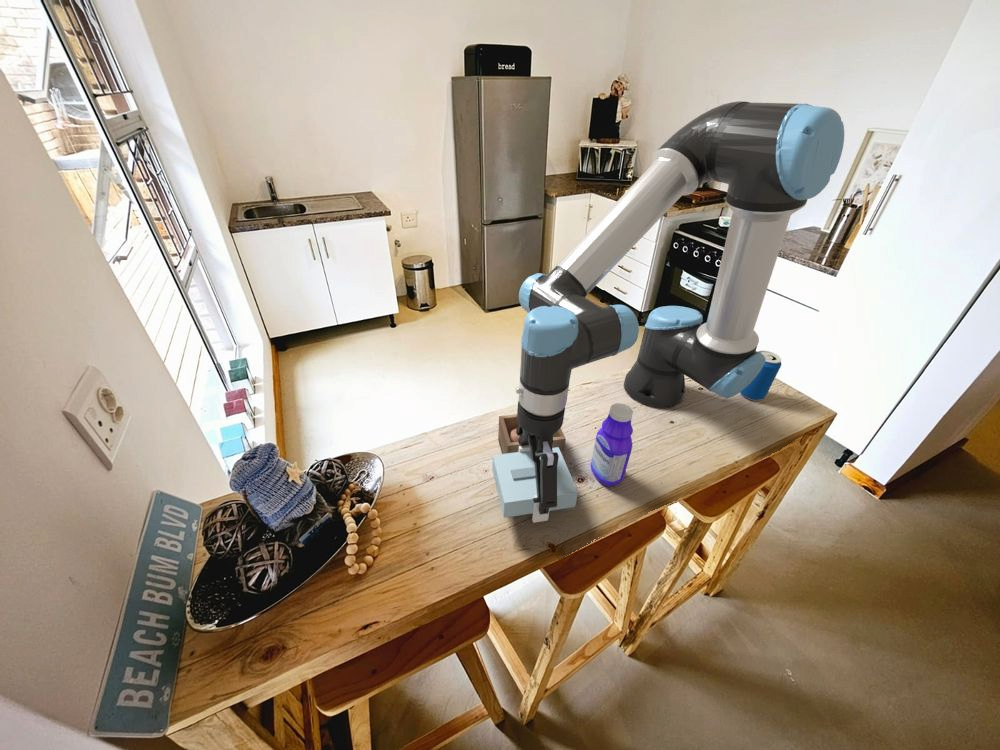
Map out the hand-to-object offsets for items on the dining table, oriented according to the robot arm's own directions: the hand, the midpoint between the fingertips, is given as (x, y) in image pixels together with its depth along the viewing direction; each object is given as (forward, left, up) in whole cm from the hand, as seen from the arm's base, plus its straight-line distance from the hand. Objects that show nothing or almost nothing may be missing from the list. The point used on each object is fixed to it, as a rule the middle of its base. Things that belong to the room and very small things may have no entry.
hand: (531, 493), depth 78 cm
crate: (-3, -13, -2) cm, 14 cm away
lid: (0, 0, +2) cm, 2 cm away
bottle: (-17, -4, -3) cm, 18 cm away
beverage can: (-66, -23, -3) cm, 70 cm away
